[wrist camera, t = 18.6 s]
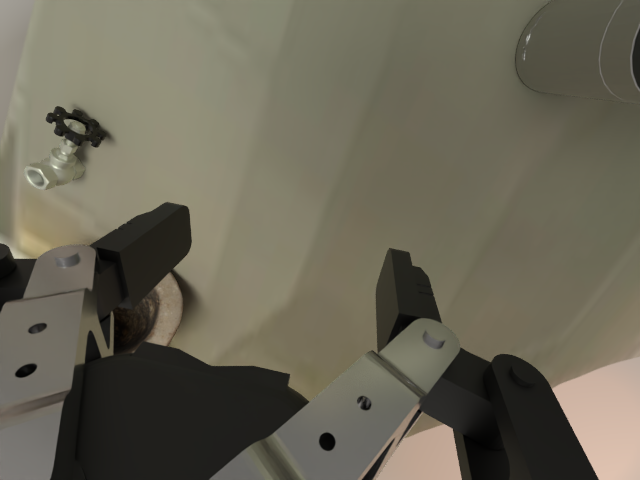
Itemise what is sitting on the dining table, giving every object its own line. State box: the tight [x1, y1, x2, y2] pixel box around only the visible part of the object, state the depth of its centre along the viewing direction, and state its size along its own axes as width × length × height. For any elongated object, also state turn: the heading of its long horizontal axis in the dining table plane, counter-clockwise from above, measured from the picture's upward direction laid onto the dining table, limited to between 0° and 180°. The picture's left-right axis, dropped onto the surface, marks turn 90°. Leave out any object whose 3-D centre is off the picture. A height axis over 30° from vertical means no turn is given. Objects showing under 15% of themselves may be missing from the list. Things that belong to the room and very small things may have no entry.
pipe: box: [112, 272, 184, 355], centre depth 57 cm, size 23×29×30 cm
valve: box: [24, 106, 106, 190], centre depth 44 cm, size 7×7×12 cm
